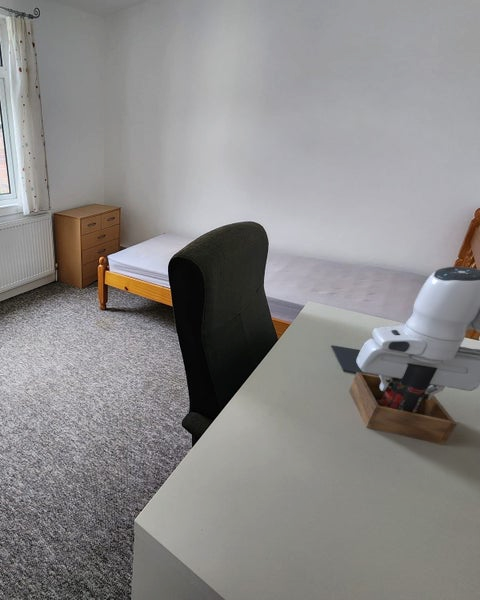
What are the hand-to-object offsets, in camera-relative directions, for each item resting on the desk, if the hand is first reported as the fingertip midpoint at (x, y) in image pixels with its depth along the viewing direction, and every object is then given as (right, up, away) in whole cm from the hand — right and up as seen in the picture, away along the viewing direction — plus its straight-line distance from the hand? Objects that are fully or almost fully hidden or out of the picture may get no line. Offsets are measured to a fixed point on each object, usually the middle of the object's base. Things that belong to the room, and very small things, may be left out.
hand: (403, 393), depth 77 cm
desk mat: (+12, +3, +21) cm, 24 cm away
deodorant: (0, -6, +3) cm, 6 cm away
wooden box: (0, -6, +3) cm, 6 cm away
